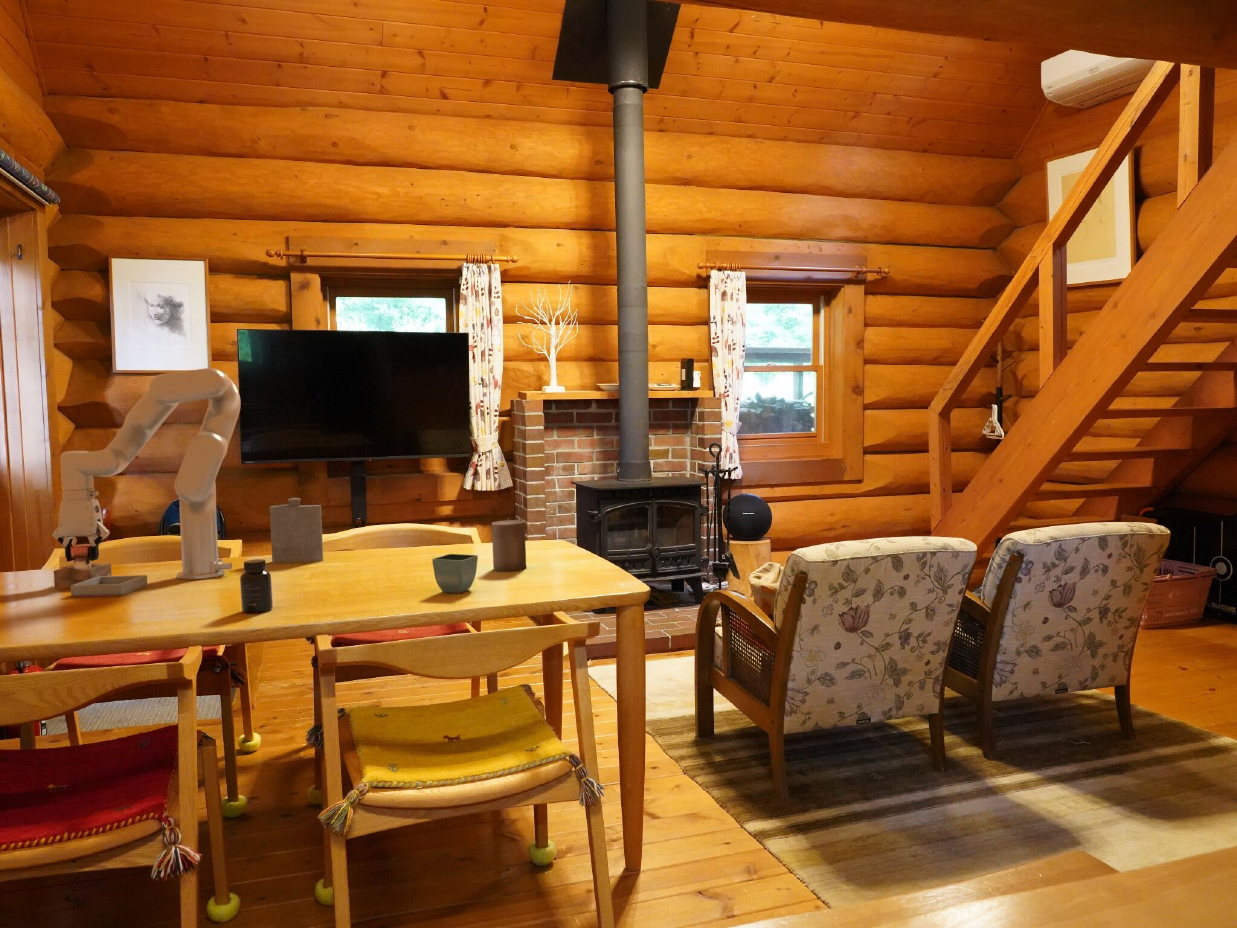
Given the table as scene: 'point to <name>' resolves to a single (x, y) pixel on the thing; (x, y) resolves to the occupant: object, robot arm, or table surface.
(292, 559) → the hip flask
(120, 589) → the tray
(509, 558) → the pillar candle
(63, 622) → the table surface
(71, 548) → the pin
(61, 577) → the block
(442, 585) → the flower pot
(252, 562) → the supplement bottle
